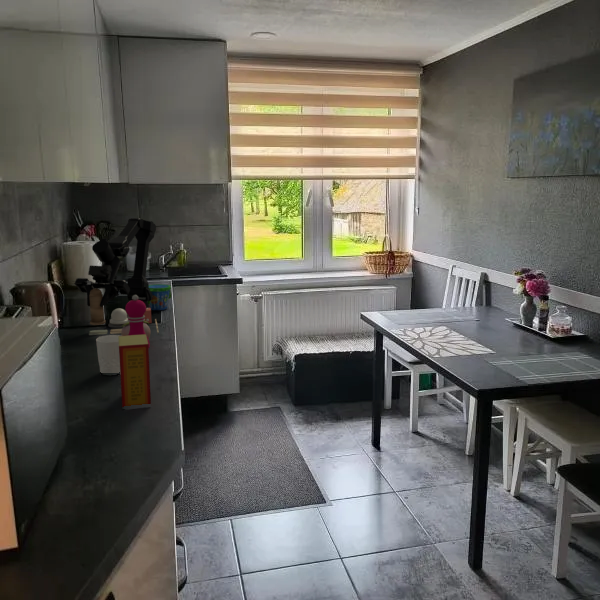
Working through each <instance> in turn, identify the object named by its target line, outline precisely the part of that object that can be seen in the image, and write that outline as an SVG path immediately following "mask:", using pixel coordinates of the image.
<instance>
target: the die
mask: <svg viewBox="0 0 600 600" xmlns="http://www.w3.org/2000/svg"><path fill="white" fill-rule="evenodd" d="M144 316H145V317H144V318H145V320H144V321H147V322H148V323H149V324H153V323H152V310H151V308H150V307H148V308H146V312H145V313H144ZM148 323H147V324H148Z"/></svg>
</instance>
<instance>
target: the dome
mask: <svg viewBox="0 0 600 600" xmlns="http://www.w3.org/2000/svg"><path fill="white" fill-rule="evenodd" d="M110 316H111V317H110V318H109V323H111V324H125V323H127V322H129V321H128V314H127V313H126V310H125V309H124V308H120V307H118V308H115V309H113V310H112V312H111V314H110Z"/></svg>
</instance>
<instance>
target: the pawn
mask: <svg viewBox="0 0 600 600" xmlns="http://www.w3.org/2000/svg"><path fill="white" fill-rule="evenodd" d="M103 295H104V293H103V292H102V289H97V288H94V289H92V290H91V291H90V295H89V298H90V306H89V309H90V310H89V311H90V321H89V325H91V326H99V325H105V324H106V323H107V322H106V321H107V320H106V319H105V312H104V311H105V310H104V306H103V307H101V306H100V303H101V300H102V298H103Z"/></svg>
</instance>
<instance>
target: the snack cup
mask: <svg viewBox="0 0 600 600" xmlns="http://www.w3.org/2000/svg"><path fill="white" fill-rule="evenodd" d="M149 289H150V291H151V292H152V294H153V296H152V297H153V298H152V300H151V301H148V308H151V311H165V310H167V309H168V306H169V302H170V301H169V300H171V298H172V291H171V289H172V286H171V285H169V284H162V283H161V284H149Z"/></svg>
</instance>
